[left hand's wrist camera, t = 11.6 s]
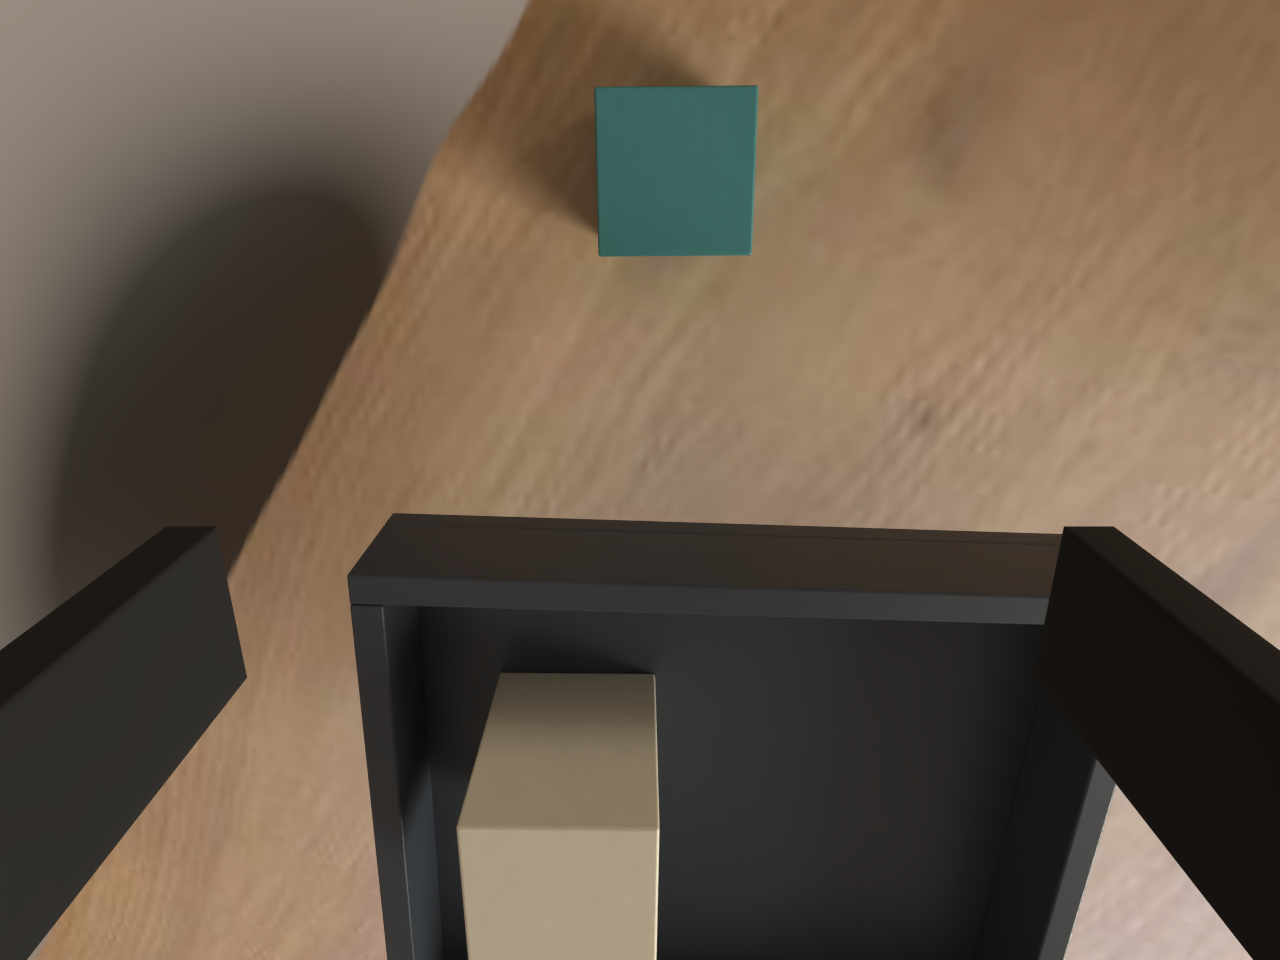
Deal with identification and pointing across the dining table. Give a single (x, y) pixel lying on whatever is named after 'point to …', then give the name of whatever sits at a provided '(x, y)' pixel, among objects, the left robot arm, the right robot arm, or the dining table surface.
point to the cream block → (563, 821)
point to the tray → (749, 726)
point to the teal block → (675, 170)
